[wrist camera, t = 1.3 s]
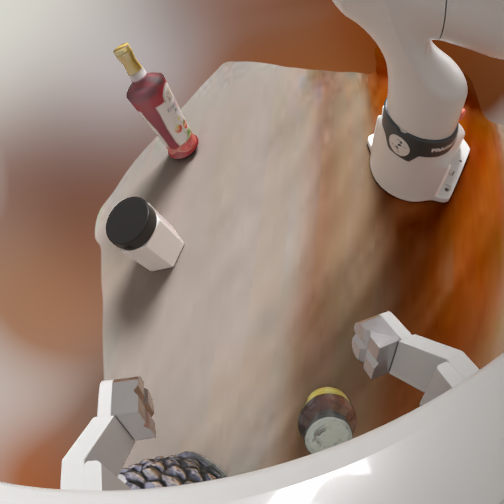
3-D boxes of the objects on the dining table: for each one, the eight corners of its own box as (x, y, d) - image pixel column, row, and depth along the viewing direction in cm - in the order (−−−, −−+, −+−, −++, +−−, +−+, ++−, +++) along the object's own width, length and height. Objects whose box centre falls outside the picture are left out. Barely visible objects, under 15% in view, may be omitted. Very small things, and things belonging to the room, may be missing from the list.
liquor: (198, 160, 62) (132, 52, 36) (166, 165, 63) (94, 68, 38) (203, 134, 64) (146, 29, 39) (173, 139, 66) (110, 44, 41)
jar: (135, 247, 58) (98, 218, 47) (168, 219, 58) (135, 185, 47) (156, 281, 54) (116, 257, 43) (191, 252, 54) (158, 221, 43)
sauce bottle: (300, 392, 42) (280, 406, 24) (343, 380, 41) (354, 387, 23) (310, 434, 39) (296, 475, 21) (353, 422, 38) (370, 457, 20)
